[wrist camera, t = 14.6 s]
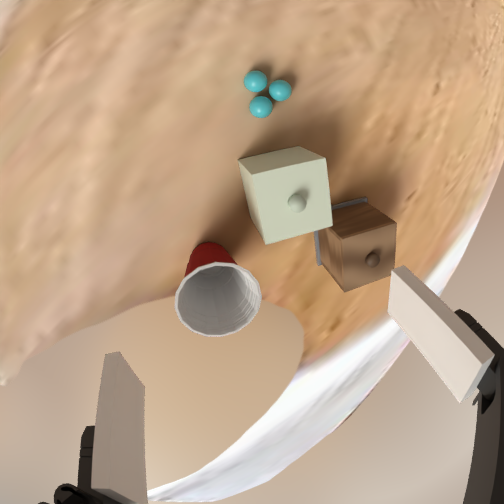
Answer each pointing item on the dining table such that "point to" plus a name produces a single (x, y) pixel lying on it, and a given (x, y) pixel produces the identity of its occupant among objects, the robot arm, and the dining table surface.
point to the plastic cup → (216, 293)
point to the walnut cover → (358, 245)
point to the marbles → (262, 104)
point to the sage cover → (287, 192)
